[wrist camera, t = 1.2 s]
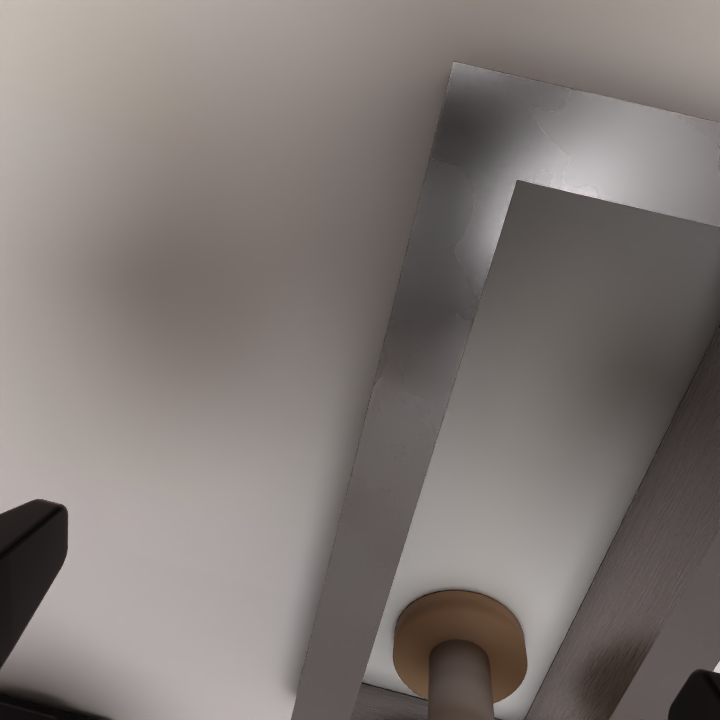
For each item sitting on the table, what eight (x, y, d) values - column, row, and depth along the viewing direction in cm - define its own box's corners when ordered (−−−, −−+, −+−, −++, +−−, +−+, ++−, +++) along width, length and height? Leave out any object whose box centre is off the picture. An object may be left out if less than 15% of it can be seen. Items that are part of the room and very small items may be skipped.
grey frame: (550, 764, 21) (570, 886, 17) (296, 697, 21) (270, 804, 18) (876, 169, 12) (1027, 193, 9) (451, 71, 13) (453, 61, 9)
